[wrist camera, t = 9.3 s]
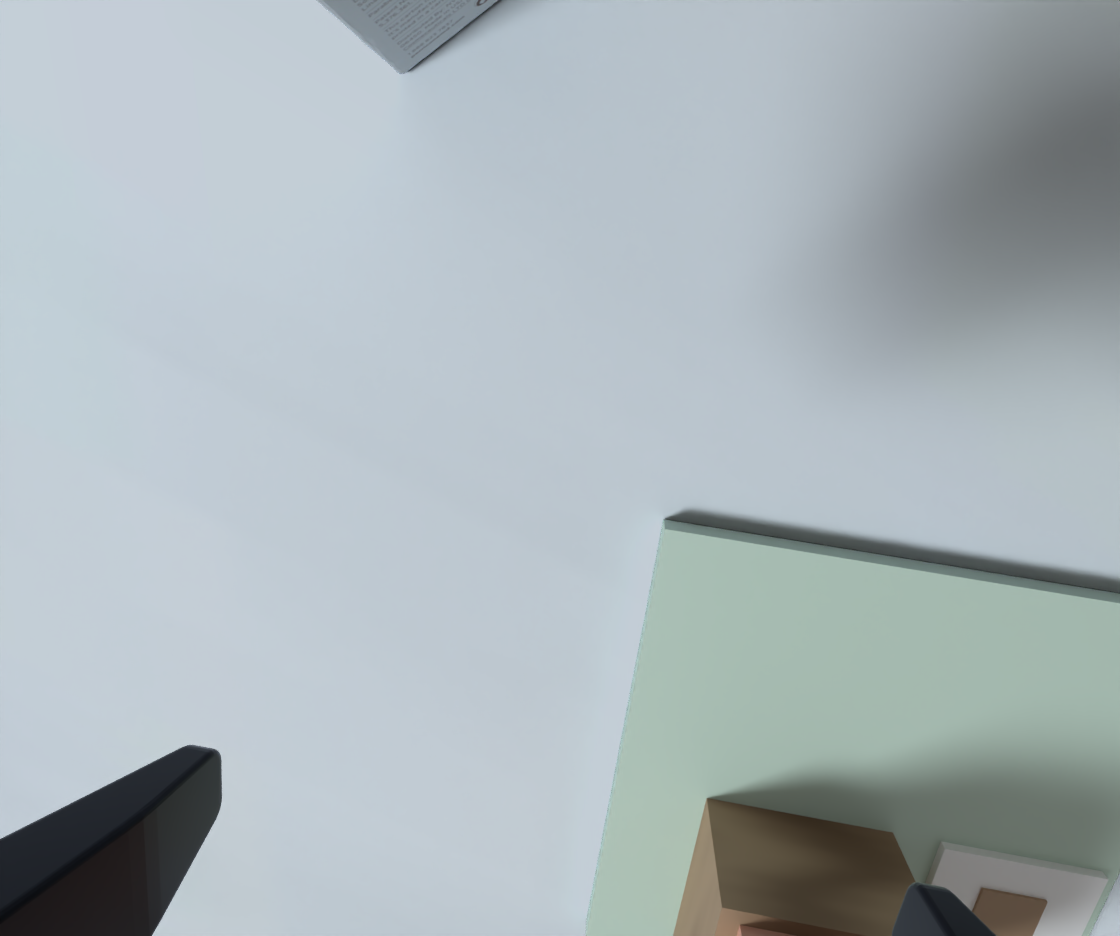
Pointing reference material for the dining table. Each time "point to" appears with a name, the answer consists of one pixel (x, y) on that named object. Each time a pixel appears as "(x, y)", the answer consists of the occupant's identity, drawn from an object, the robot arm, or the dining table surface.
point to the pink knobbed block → (757, 932)
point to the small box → (405, 25)
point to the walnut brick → (790, 875)
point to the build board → (871, 724)
